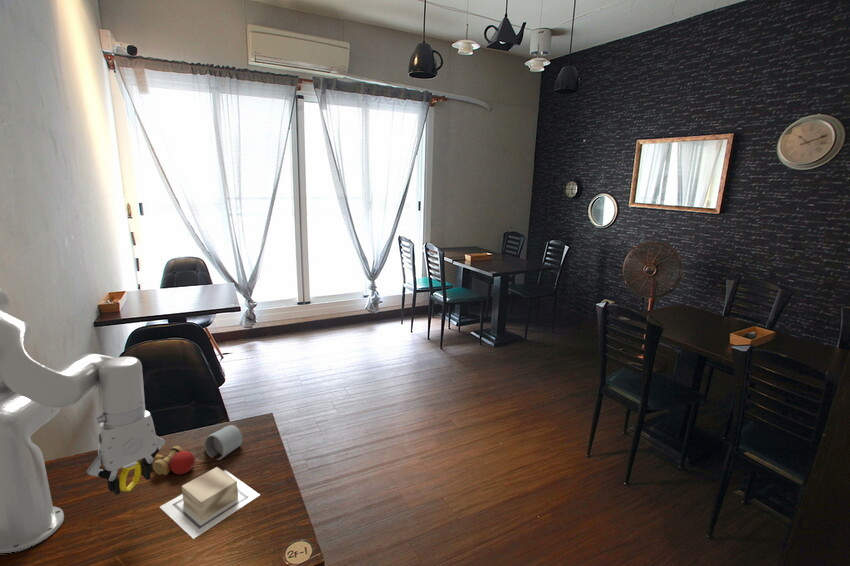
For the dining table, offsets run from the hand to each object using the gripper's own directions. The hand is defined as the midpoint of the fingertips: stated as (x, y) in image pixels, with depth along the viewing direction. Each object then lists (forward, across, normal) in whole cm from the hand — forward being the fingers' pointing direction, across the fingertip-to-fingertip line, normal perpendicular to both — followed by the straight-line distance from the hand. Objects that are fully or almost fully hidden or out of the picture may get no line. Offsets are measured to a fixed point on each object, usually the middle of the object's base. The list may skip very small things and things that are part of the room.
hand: (131, 483), depth 94 cm
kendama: (+11, +13, +15) cm, 23 cm away
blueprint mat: (+10, +14, -8) cm, 19 cm away
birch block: (+9, +14, -8) cm, 19 cm away
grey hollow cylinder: (+10, +27, +9) cm, 30 cm away
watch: (+1, 0, 0) cm, 1 cm away
